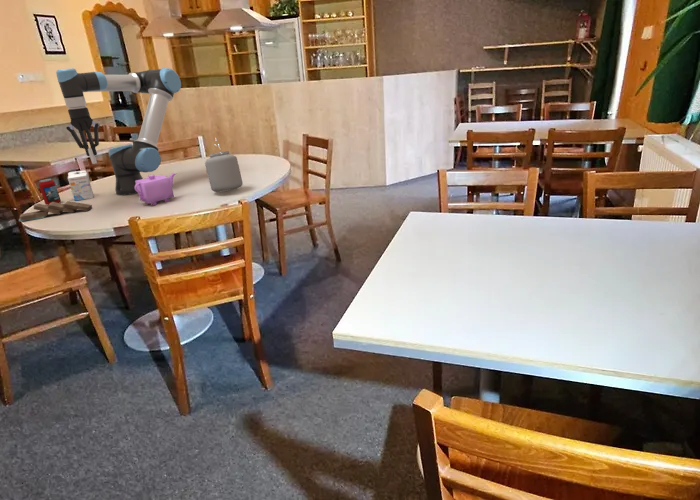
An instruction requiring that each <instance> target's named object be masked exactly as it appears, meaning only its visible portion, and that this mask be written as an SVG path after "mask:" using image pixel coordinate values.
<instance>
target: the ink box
mask: <svg viewBox="0 0 700 500" xmlns="http://www.w3.org/2000/svg"><path fill="white" fill-rule="evenodd" d="M67 175H68V176H67V181H68V183H69V187H70V189H71V192H72V196H73V199H74V202H77V201H83V200H88V199H93V198H94V196H93V195H94V191H93V188H92V185H91V181H90V178H89V175H88V172H87V171H86V170H77V171H70V172H68V173H67Z"/></svg>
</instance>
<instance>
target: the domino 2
mask: <svg viewBox="0 0 700 500" xmlns="http://www.w3.org/2000/svg"><path fill="white" fill-rule="evenodd" d="M46 217H47V216H42V217H37V218H31V219H26V220H20V218H18V222H20V223H21V222H26V221H32V220H40V219H45V218H46Z"/></svg>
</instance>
